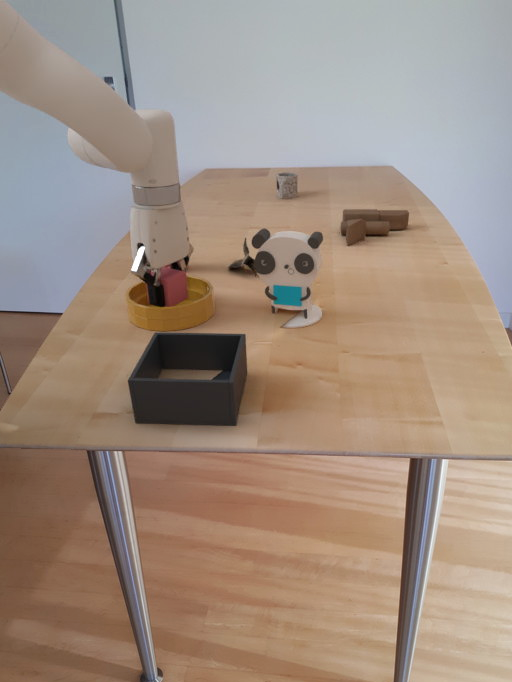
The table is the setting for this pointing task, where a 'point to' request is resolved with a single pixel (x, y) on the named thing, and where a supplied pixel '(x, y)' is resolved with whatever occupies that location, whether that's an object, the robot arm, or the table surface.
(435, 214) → the table surface
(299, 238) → the panda figurine
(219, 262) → the table surface
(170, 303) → the block
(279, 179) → the mug
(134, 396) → the bin
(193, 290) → the bowl
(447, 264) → the table surface
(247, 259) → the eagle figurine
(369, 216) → the wooden block set
